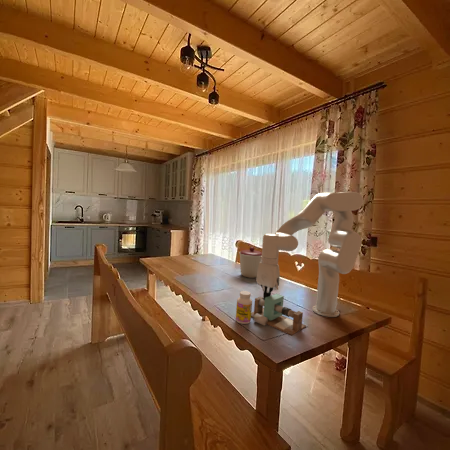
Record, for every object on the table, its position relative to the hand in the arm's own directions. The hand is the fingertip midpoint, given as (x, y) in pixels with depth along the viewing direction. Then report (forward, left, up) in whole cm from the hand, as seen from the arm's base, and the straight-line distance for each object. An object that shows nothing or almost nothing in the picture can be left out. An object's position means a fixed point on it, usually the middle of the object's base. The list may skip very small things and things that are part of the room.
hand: (266, 299), depth 119 cm
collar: (0, +4, -6) cm, 8 cm away
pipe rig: (0, +6, -8) cm, 10 cm away
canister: (-46, -47, -8) cm, 66 cm away
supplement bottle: (+12, -3, -8) cm, 15 cm away
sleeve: (+9, +3, -7) cm, 12 cm away
